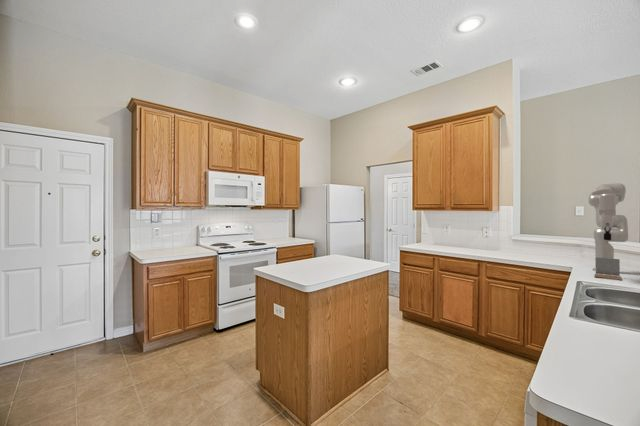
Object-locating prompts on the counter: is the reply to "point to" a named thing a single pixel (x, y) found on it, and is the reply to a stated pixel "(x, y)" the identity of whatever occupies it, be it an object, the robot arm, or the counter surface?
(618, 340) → the counter surface
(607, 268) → the hinge leaf
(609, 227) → the robot arm
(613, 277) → the hinge base
